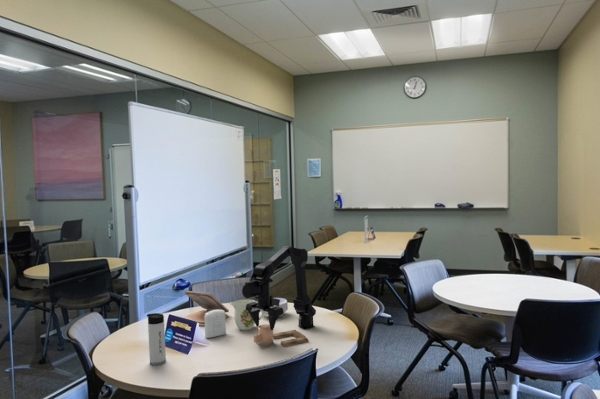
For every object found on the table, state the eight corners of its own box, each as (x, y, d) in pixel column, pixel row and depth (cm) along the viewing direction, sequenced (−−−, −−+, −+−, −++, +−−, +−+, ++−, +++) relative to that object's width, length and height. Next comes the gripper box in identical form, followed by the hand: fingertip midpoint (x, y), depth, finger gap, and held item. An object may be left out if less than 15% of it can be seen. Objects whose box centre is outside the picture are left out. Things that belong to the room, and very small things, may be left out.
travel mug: (151, 359, 180) (149, 312, 179) (167, 358, 180) (165, 311, 180) (147, 365, 174) (144, 316, 173) (164, 364, 174) (161, 315, 174)
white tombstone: (223, 332, 211) (222, 307, 211) (227, 334, 208) (226, 309, 207) (203, 336, 206) (202, 311, 205) (207, 339, 202) (206, 313, 202)
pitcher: (268, 327, 215) (267, 300, 215) (233, 334, 208) (232, 305, 207) (261, 321, 225) (259, 295, 225) (227, 327, 218) (226, 300, 217)
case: (231, 316, 237) (229, 287, 237) (203, 327, 220) (202, 296, 219) (204, 312, 248) (203, 284, 248) (175, 322, 231) (174, 292, 230)
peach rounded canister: (266, 339, 198) (265, 323, 198) (276, 342, 194) (275, 326, 193) (250, 346, 191) (249, 329, 190) (260, 349, 186) (260, 332, 186)
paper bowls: (254, 317, 233) (253, 303, 233) (270, 310, 246) (270, 296, 246) (277, 321, 225) (277, 306, 225) (293, 313, 238) (292, 299, 238)
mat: (269, 339, 199) (269, 338, 199) (276, 345, 191) (276, 345, 191) (255, 342, 196) (255, 341, 196) (261, 348, 188) (261, 348, 188)
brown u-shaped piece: (295, 332, 207) (295, 329, 207) (308, 341, 194) (308, 338, 194) (271, 337, 202) (271, 334, 202) (283, 346, 189) (283, 343, 189)
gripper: (291, 292, 192) (292, 327, 193) (261, 287, 205) (263, 319, 205) (273, 297, 184) (275, 334, 184) (244, 292, 196) (245, 326, 197)
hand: (264, 328), depth 193 cm, fingers open, 9 cm apart
